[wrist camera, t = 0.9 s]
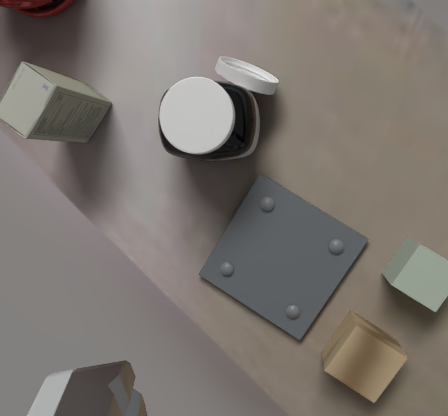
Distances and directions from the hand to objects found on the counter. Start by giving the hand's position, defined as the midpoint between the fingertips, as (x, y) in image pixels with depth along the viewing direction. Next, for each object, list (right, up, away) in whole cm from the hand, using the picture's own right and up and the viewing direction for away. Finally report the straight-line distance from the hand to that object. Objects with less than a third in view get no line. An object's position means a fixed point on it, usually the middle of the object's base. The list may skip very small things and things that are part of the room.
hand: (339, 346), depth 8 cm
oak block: (+13, -13, +40) cm, 45 cm away
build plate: (+4, -3, +41) cm, 41 cm away
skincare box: (-19, +14, +44) cm, 50 cm away
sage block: (+19, -4, +39) cm, 43 cm away
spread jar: (-2, +14, +41) cm, 43 cm away
